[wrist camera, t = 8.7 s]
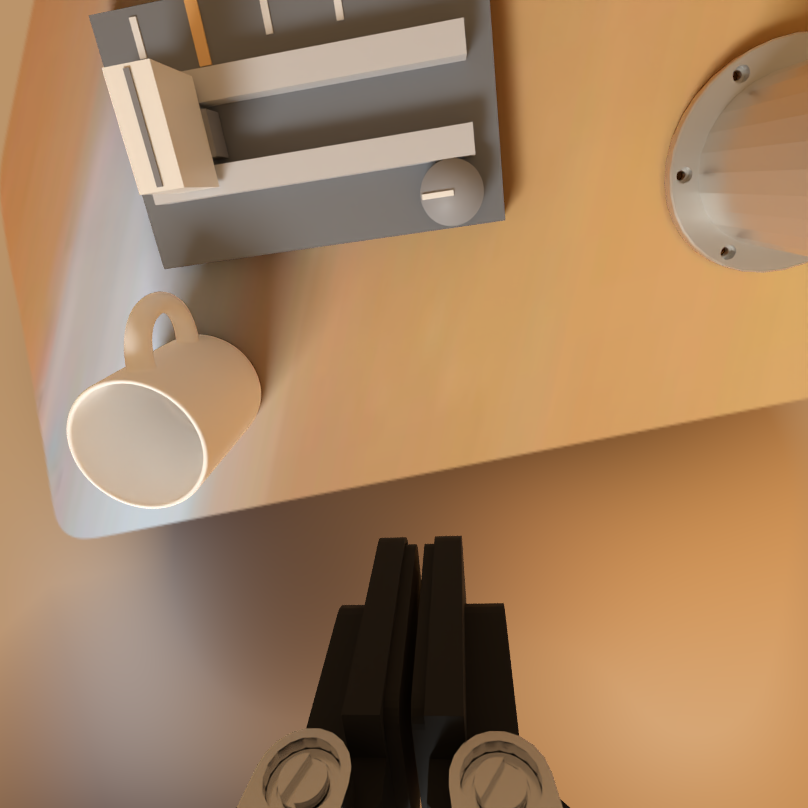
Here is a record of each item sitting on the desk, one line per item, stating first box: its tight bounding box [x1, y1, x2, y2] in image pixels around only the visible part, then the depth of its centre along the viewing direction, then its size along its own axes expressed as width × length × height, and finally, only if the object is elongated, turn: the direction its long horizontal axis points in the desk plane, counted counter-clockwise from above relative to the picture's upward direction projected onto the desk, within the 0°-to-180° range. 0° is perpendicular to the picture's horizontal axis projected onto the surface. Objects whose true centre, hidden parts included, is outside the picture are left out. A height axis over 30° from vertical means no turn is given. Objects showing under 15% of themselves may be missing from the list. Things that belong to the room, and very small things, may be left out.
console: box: [89, 0, 505, 269], centre depth 32 cm, size 22×14×4 cm, turn 98°
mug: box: [67, 292, 261, 509], centre depth 35 cm, size 12×8×10 cm
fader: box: [102, 59, 229, 195], centre depth 29 cm, size 3×6×6 cm, turn 8°
